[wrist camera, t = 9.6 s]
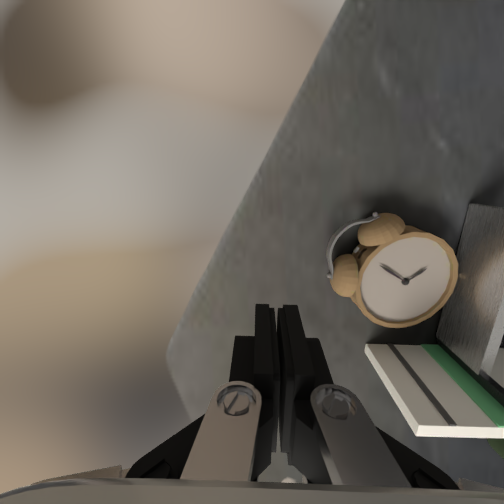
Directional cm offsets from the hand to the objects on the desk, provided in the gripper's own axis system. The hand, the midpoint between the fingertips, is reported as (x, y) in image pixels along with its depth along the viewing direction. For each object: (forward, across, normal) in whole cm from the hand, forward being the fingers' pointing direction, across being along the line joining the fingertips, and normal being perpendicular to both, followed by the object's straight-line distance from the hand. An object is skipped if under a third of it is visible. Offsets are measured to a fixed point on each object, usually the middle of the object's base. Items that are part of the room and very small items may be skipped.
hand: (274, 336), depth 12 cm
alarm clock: (+22, -14, +5) cm, 27 cm away
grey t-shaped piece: (+22, -28, +6) cm, 36 cm away
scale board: (+22, -22, +16) cm, 35 cm away
